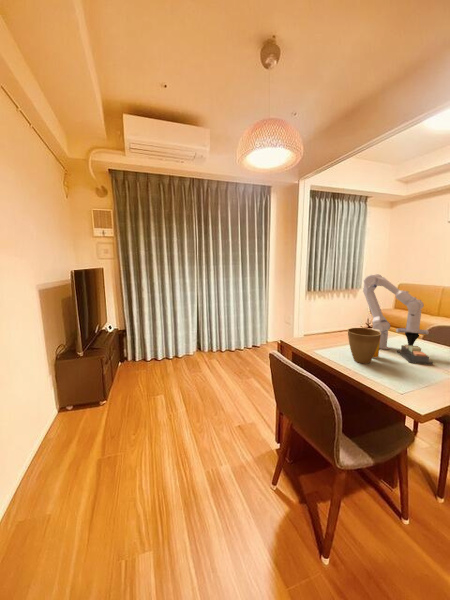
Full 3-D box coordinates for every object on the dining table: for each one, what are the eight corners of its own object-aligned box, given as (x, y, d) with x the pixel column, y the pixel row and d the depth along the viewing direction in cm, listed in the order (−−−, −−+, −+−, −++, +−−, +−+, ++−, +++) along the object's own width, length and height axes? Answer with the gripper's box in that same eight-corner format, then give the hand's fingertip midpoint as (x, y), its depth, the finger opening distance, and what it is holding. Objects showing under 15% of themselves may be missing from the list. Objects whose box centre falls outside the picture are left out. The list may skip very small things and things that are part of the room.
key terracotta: (415, 359, 124) (416, 353, 124) (412, 356, 128) (413, 351, 128) (425, 360, 123) (426, 354, 123) (421, 357, 127) (422, 351, 127)
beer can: (380, 358, 130) (382, 331, 127) (367, 358, 131) (370, 331, 129) (375, 354, 136) (378, 328, 133) (363, 353, 137) (366, 328, 134)
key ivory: (407, 352, 134) (407, 346, 134) (404, 349, 138) (404, 344, 138) (415, 352, 133) (416, 347, 133) (412, 350, 137) (412, 345, 136)
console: (409, 362, 125) (410, 355, 124) (396, 351, 140) (397, 345, 139) (432, 365, 122) (433, 357, 121) (417, 353, 137) (418, 346, 137)
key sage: (411, 353, 129) (412, 347, 129) (408, 350, 133) (409, 345, 132) (420, 354, 128) (421, 348, 128) (416, 351, 132) (417, 345, 131)
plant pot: (372, 356, 133) (375, 328, 130) (382, 368, 119) (385, 336, 116) (342, 354, 137) (345, 326, 134) (348, 365, 123) (351, 334, 120)
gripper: (401, 322, 131) (398, 346, 133) (433, 324, 127) (429, 349, 129) (395, 319, 138) (393, 342, 140) (426, 321, 134) (423, 345, 136)
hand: (410, 345), depth 135 cm, fingers closed
